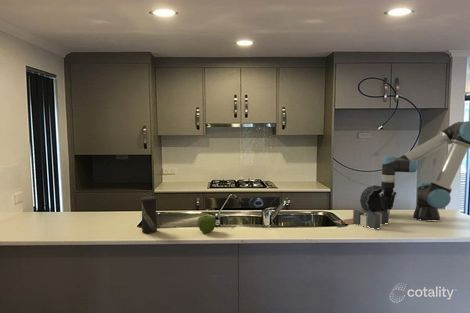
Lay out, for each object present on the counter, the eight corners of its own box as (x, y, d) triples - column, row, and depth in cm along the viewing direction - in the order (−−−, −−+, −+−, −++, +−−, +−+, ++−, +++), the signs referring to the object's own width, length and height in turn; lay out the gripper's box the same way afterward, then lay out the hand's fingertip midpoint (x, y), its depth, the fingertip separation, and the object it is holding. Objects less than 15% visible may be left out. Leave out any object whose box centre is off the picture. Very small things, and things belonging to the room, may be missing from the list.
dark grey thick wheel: (357, 214, 247) (358, 184, 245) (385, 213, 249) (386, 184, 248) (365, 218, 236) (365, 187, 235) (394, 217, 238) (395, 186, 237)
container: (138, 232, 204) (137, 197, 203) (147, 228, 212) (146, 194, 211) (151, 234, 201) (150, 198, 200) (160, 230, 210) (159, 195, 208)
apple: (211, 236, 198) (211, 217, 197) (194, 234, 201) (193, 216, 200) (219, 230, 208) (219, 213, 207) (202, 229, 211) (202, 212, 211)
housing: (357, 222, 225) (358, 208, 224) (380, 229, 210) (380, 214, 209) (353, 223, 223) (353, 209, 222) (375, 230, 208) (375, 214, 208)
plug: (380, 221, 226) (380, 210, 226) (388, 224, 221) (388, 212, 221) (359, 225, 218) (359, 214, 217) (367, 227, 213) (367, 216, 212)
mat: (357, 218, 236) (357, 217, 236) (368, 221, 228) (368, 220, 228) (333, 221, 227) (333, 221, 227) (344, 225, 219) (344, 224, 219)
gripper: (390, 179, 229) (388, 216, 231) (375, 181, 223) (374, 219, 225) (400, 181, 223) (398, 219, 224) (385, 182, 217) (383, 221, 219)
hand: (386, 219), depth 225 cm, fingers closed
